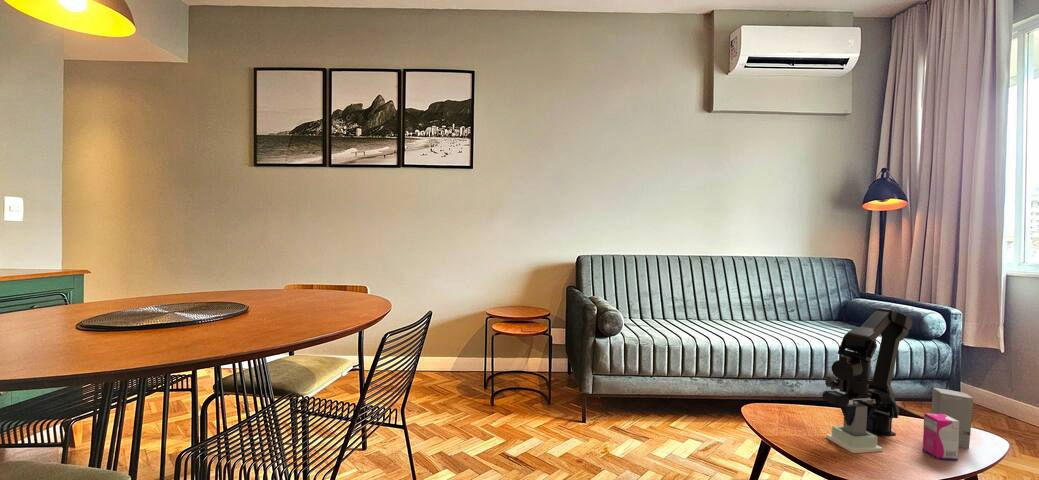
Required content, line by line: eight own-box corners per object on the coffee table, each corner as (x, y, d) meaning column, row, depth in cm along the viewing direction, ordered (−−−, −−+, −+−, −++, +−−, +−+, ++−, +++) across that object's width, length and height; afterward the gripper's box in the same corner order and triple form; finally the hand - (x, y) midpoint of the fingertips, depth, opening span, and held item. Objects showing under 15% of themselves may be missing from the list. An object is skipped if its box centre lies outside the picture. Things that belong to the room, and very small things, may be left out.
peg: (854, 433, 148) (856, 401, 147) (865, 439, 144) (867, 406, 143) (843, 433, 147) (844, 401, 146) (854, 439, 143) (855, 407, 142)
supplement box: (942, 451, 142) (944, 413, 142) (958, 461, 136) (961, 421, 136) (921, 449, 143) (923, 412, 142) (936, 459, 137) (939, 420, 136)
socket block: (854, 436, 151) (854, 423, 151) (882, 451, 141) (883, 438, 141) (826, 437, 149) (826, 425, 149) (853, 453, 140) (853, 439, 139)
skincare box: (935, 443, 147) (939, 393, 146) (927, 434, 153) (930, 386, 153) (971, 450, 143) (975, 398, 143) (962, 440, 150) (965, 390, 149)
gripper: (861, 365, 154) (858, 412, 155) (809, 367, 151) (807, 415, 152) (893, 376, 143) (890, 427, 144) (838, 378, 140) (835, 430, 141)
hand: (854, 424), depth 145 cm, fingers closed on peg, 4 cm apart
